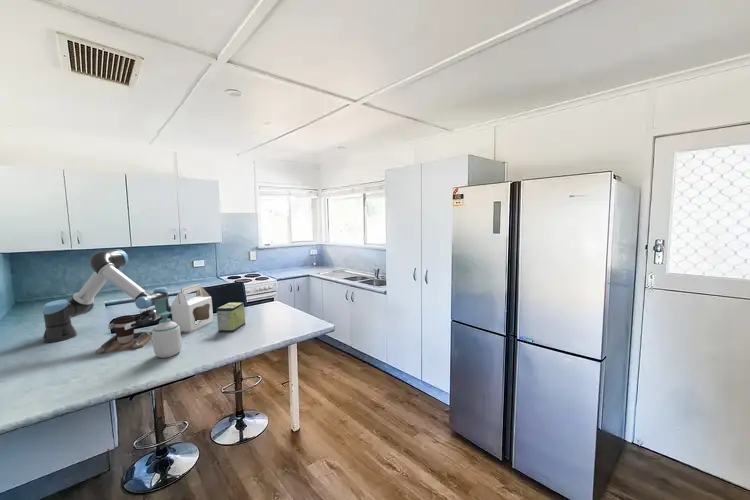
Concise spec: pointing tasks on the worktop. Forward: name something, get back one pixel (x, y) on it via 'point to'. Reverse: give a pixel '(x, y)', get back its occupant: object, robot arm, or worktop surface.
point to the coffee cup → (121, 333)
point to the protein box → (230, 317)
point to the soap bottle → (165, 332)
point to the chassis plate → (137, 342)
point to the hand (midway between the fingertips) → (116, 327)
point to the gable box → (192, 308)
